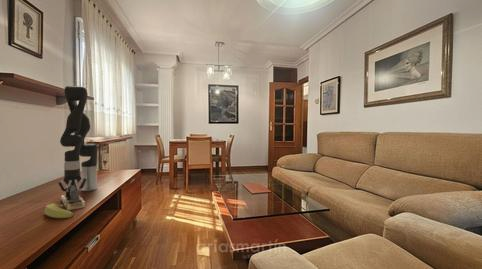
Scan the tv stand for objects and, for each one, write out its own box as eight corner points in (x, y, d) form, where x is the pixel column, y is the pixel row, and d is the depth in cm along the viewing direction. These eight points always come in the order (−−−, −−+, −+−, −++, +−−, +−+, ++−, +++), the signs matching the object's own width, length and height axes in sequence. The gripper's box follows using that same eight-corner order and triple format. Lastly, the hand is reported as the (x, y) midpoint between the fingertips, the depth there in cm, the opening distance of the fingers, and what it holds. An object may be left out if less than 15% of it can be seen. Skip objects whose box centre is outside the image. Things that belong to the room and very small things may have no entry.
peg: (69, 202, 128) (69, 185, 128) (68, 200, 131) (68, 184, 130) (77, 201, 131) (76, 184, 130) (75, 199, 133) (75, 183, 133)
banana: (41, 207, 106) (51, 200, 123) (37, 219, 105) (48, 210, 122) (75, 210, 112) (80, 202, 129) (71, 221, 111) (77, 212, 128)
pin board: (61, 200, 136) (61, 185, 136) (77, 197, 142) (77, 183, 141) (67, 210, 120) (67, 194, 120) (85, 206, 126) (84, 191, 125)
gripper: (57, 170, 122) (58, 201, 123) (88, 167, 132) (88, 195, 133) (56, 168, 127) (56, 197, 128) (85, 165, 138) (85, 192, 138)
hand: (72, 196), depth 131 cm, fingers closed on peg, 3 cm apart
